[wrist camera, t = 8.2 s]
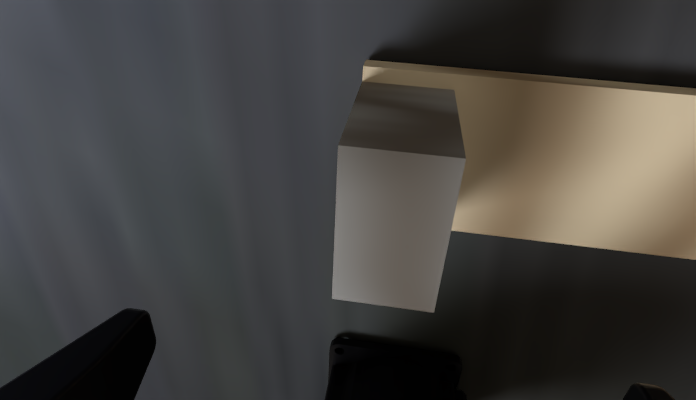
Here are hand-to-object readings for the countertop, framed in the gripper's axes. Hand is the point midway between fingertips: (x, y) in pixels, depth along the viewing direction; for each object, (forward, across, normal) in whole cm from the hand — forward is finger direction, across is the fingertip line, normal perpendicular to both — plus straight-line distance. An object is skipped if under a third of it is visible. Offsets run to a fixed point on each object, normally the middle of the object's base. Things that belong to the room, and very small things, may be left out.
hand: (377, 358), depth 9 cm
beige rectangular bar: (+10, -10, 0) cm, 15 cm away
